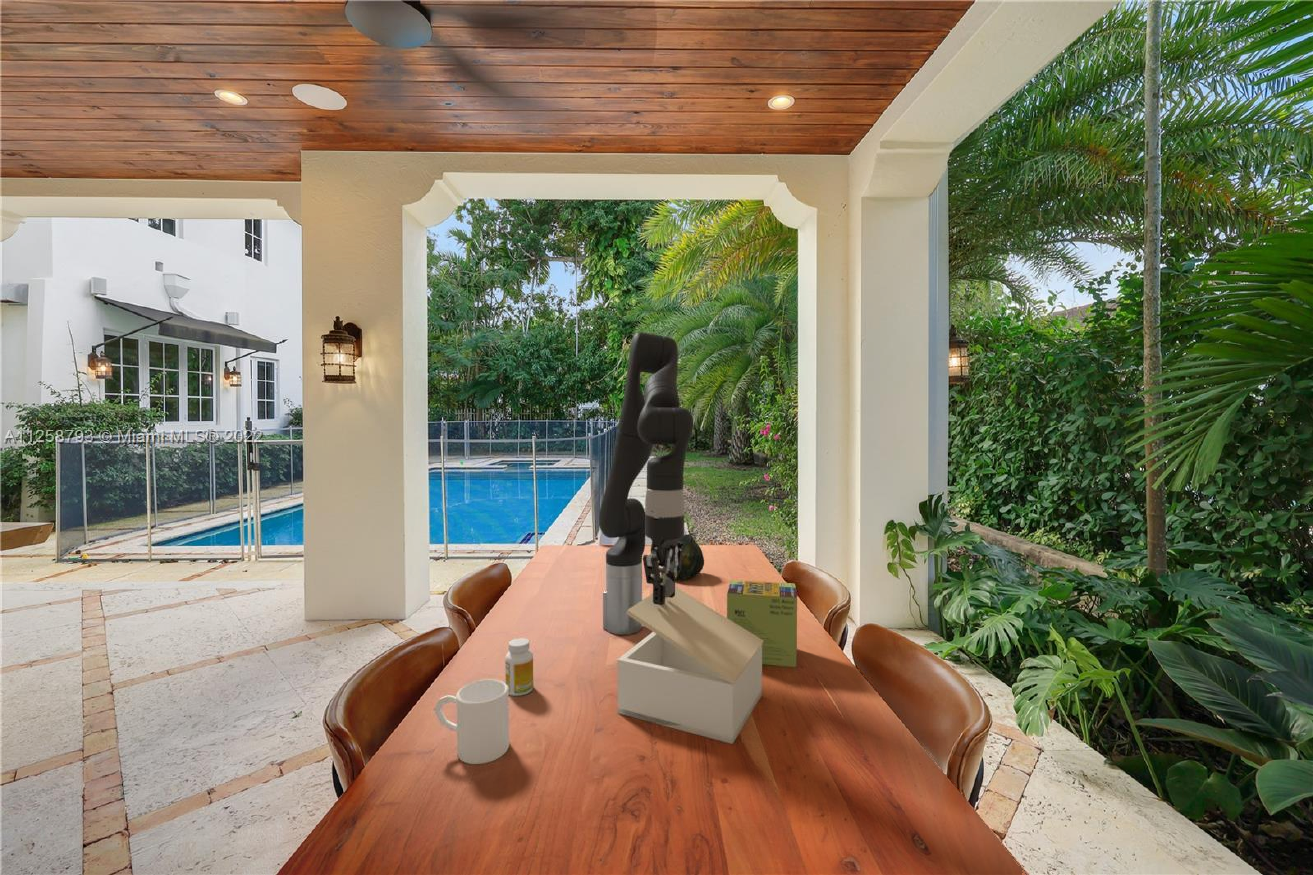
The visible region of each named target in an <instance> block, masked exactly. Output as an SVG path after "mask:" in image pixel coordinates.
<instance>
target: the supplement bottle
mask: <svg viewBox="0 0 1313 875" xmlns="http://www.w3.org/2000/svg"><path fill="white" fill-rule="evenodd" d="M504 664H505V665H504V666H505V667H504V669H505V670H504V671H505V675H504V677H505V683H506V684H507V685H508V690H509V696H512V697H513V696H516V697H519V696H525V695H527V694H529V693H531V692H532V691H533V689H534V655H533V652H532V650H531V649H530V640H529V639H527V638H522V637H519V638H514V639H512V640H510V641H509V642H508V652H507V653H506V654H505V658H504Z"/></svg>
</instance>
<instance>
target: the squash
mask: <svg viewBox="0 0 1313 875" xmlns="http://www.w3.org/2000/svg"><path fill="white" fill-rule="evenodd" d="M677 540H678V542H684V549H683V557H682V564H681V571H680V572H677V577H676V578H675V579H677V580H680V579H682V580H688V579H689V578H694V577H696V576H697V575H699V574H700V573H701V572H702V570H703V569H704V566H705V559H704V558H705V557H704V553H703V551H702V549H701V547H700V545H699V544H698V543H697V542H696V540H695V539H694V537H693V536H692V535H691V534H690V533H689V534H684V536H683V537H682V538H680V539H677ZM679 578H680V579H679Z"/></svg>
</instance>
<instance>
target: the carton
mask: <svg viewBox="0 0 1313 875" xmlns="http://www.w3.org/2000/svg"><path fill="white" fill-rule="evenodd" d="M616 667H617V669H616V670H617V672H616V673H617V674H616V675H617V714H620V715H624V716H627V717H630V718H634V719H638V720H643V721H646V722H649V723H654V724H657V725H660V726H663V727H667V728H670V729H674V730H675V729H676V730H678V731H682V732H686V733H690V734H694V735H698V736H701V737H705V738H708V739H712V740H716V741H719V742H723V743H726V744H730V745H733V744H734V743H735V741H736V739H737V737H738V735H739V734H740V732H741V731H742V729H743V728H744V726H745V724H746V722H747V721H748V719H749V718H750V715H752V713H753V711H754V709H755V707H756V706H757V704H758V703H759V701H760V699H761V697H762V696H763V664H762V645H761V647H760V648H759V649H758V651H757V652H756V653H755V655H754V656H753V658H752V659H751V660H750V662H749V663H748V664H747V666H746V667H745V669H744V670H743V671H742V673H741V674H740V675H739V677H738V678H737V680H736V681H735V682H734V684H731V683H730V682H728V681H727V680H725V679H724V678H722V677H721V676H719V675H718V674H716V673H715V672H713V671H712V670H710V669H709V668H707V667H706V666H704V665H703V664H701V663H700V662H698V661H697V660H695V659H694V658H692V657H691V656H689V655H688V654H686V653H685V652H683V651H682V650H680V649H678V648H677V647H675V646H674V645H672V644H671V643H669V642H668V641H666V640H665V639H663V638H662V637H660V636H659V635H657V634H656V633H654V632H653V631H651V632H650V634H648V635H647V636H646V637H644V638H642V640H640V641H639V642H638V643H637V644H636V645H634V646H633V647H631V648H630V649H628V650H627V652H624V653H623V655H621V656H620V657H618V658H617V666H616Z"/></svg>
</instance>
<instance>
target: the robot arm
mask: <svg viewBox="0 0 1313 875" xmlns="http://www.w3.org/2000/svg"><path fill="white" fill-rule="evenodd" d="M678 360H679V349H678V344H677V342H676V340H675V339H674V338H672V337H669V336H666V335H665V336H664V335H659V334H655V333H648V332H643V331H638V332H636V333H635V334H634V335H633V337H632V339H631V342H630V347H629V354H628V362H627V363H628V364H627V370H626V371H627V372H626V377H625V388H624V395H623V401H622V406H621V411H620V415H619V420H618V425H617V430H616V435H615V436H616V437H615V441H614V448H613V456H612V461H611V463H610V464H611V466H610V468H609V469H610V470H609V474H608V479H607V482H606V486H605V490H604V494H603V497H602V500H601V504H600V509H599V512H598V514H599V515H598V524H599V529H600V531H601V533H602V534H603V535H604V536H605V537H607V538H609V539H615V538H618V539H617V541H616V542H615V544H613V545H612V546H611V547H610V548H608V549H607V551H606V554H605V590H604V591H602V592H603V593H602V629H603V630H606V631H607V632H609V633H611V634H615V635H621V636H622V635H631V634H636V633H639V632H641V631H642V629H643V625H642V624H641V623H639V622H638V621H636V620H635V619H633V618H632V617H630V616H629V615H627V614H626V612H627V610H628V609H630V608H631V607H633V606H634V605H636V604H637V603H639V602H640V601H642V600H643V569H644V575H645V580H646V583H647V584H649V585H652V594H653V603H654V604H658V605H663V604H664V603H665V579H666V577H669V578H670V579H671V580H672V581H673V583H674V592H673V593H672V595H671V596H669V597H670V598H673V597H674V596H675V587H676V580H675V578H676V577H677V572H680V571H681V564H682V557H683V549H684V542H678V540H677V539H680V538H682V537H683V536H684V535H685V495H684V494H685V492H684V469H685V468H684V467H685V461H686V456H687V450H688V447H689V443H690V440H691V438H692V435H693V431H694V423H695V422H694V418H693V415H692V413H691V412H690V411H689V409H686V407H685V408H684V407H680V402H681V401H680V397H679V390H678V385H677V380H678V369H679V368H678V364H679V361H678ZM641 373H646V374H652V375H651V376H650V377H649V378H648V379H647V381H646V383H645V384H644V390H642V386H641V385H642V384H641ZM653 445H673V448H672V449H671V451H670V452H668V453H667V454H664V455H660V456H655V457H651V458H650V456H651V454H652V450H653V447H654V446H653ZM645 466H646V492H645V499H644V501H645V502H644V504H645V505H643V504H642V502H641V501H640V500H639V499H636V498H633V497H632V498H630V497H629V494H630V490H631V488H632V486H633V484H634V482H635V480H636V479H637V477H638V476H639V474H640V473H641V471H643V469H644V467H645ZM628 497H629V498H628ZM646 537H647V538H649V539H650V540H651V545H650V552H649V554H644V553H645V550H646V549H645V547H646ZM661 567H662V568H661Z"/></svg>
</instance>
